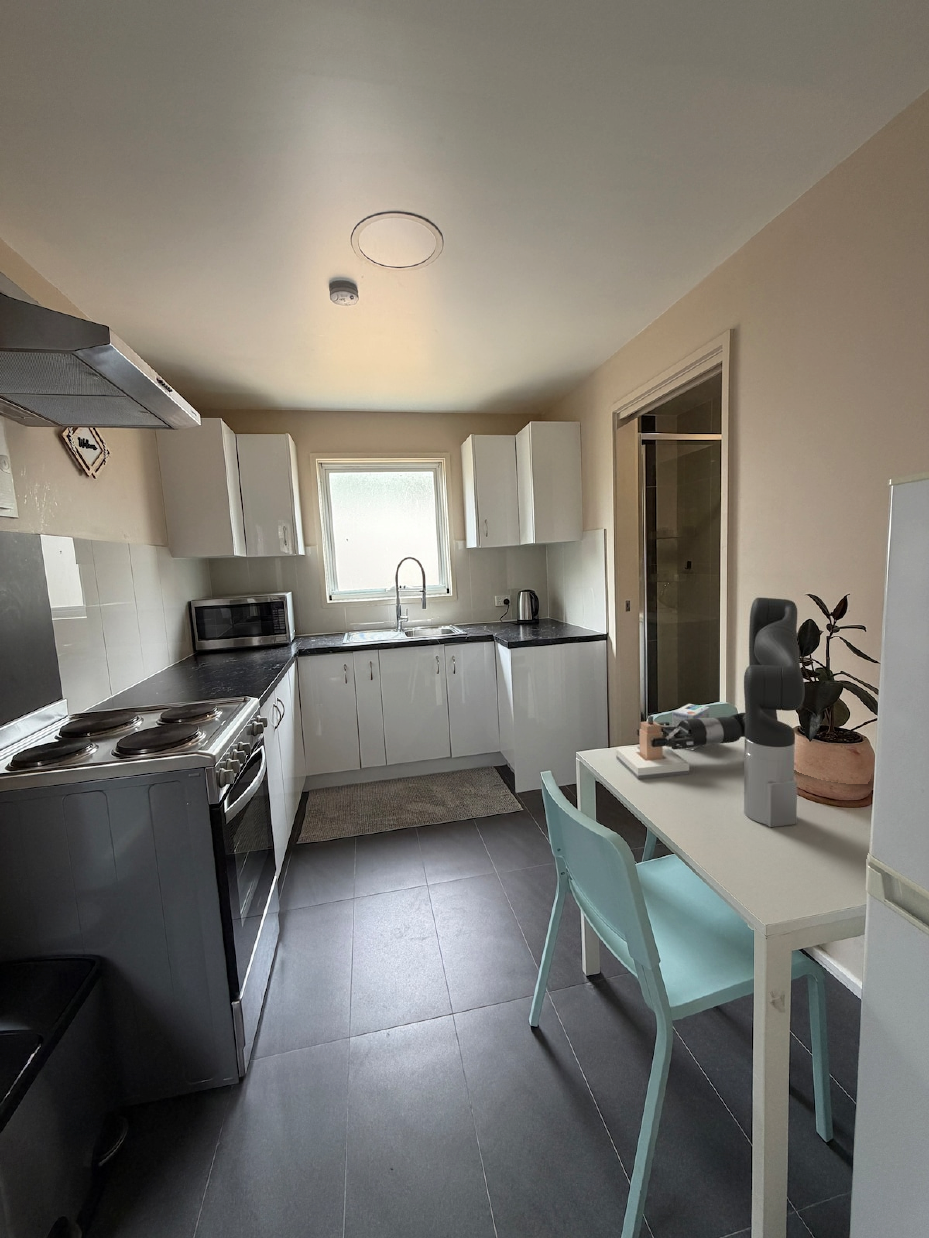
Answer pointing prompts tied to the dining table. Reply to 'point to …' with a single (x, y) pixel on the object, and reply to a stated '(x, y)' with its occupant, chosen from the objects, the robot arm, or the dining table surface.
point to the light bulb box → (689, 714)
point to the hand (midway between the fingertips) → (644, 737)
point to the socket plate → (652, 763)
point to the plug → (646, 734)
